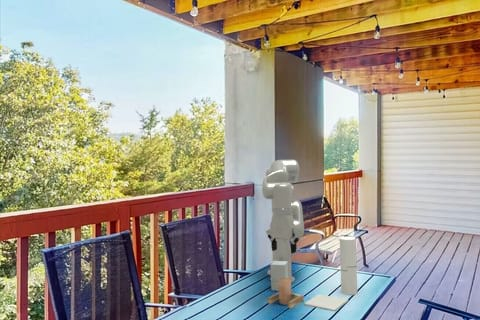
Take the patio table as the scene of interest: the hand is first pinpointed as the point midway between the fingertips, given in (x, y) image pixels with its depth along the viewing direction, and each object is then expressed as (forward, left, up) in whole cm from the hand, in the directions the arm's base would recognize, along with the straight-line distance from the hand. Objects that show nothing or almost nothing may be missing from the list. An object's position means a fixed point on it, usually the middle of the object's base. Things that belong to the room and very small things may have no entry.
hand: (283, 251), depth 172 cm
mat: (+15, +9, -22) cm, 28 cm away
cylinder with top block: (0, 0, -22) cm, 22 cm away
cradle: (0, 0, -22) cm, 22 cm away
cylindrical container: (+18, +27, -22) cm, 39 cm away
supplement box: (-12, +15, -22) cm, 30 cm away
